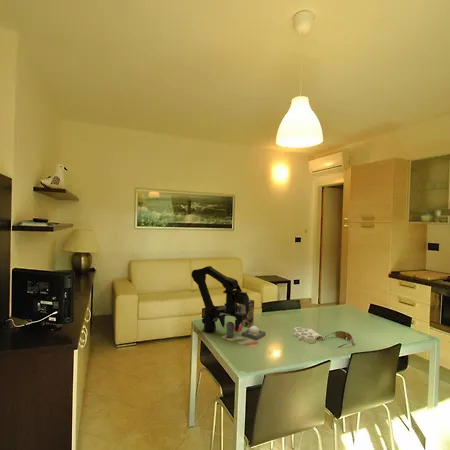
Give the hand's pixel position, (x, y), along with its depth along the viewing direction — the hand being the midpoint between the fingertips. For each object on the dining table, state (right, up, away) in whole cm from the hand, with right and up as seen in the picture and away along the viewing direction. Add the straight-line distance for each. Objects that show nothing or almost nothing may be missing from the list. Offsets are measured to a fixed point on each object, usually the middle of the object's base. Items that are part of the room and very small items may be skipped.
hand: (229, 329), depth 175 cm
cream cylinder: (+14, -5, +3) cm, 15 cm away
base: (+14, -6, +3) cm, 15 cm away
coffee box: (+11, -6, +23) cm, 26 cm away
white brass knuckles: (+45, -8, +6) cm, 47 cm away
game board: (+6, -6, -4) cm, 9 cm away
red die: (+5, -6, +11) cm, 14 cm away
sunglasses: (+62, -8, +1) cm, 63 cm away
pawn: (0, -4, 0) cm, 4 cm away
